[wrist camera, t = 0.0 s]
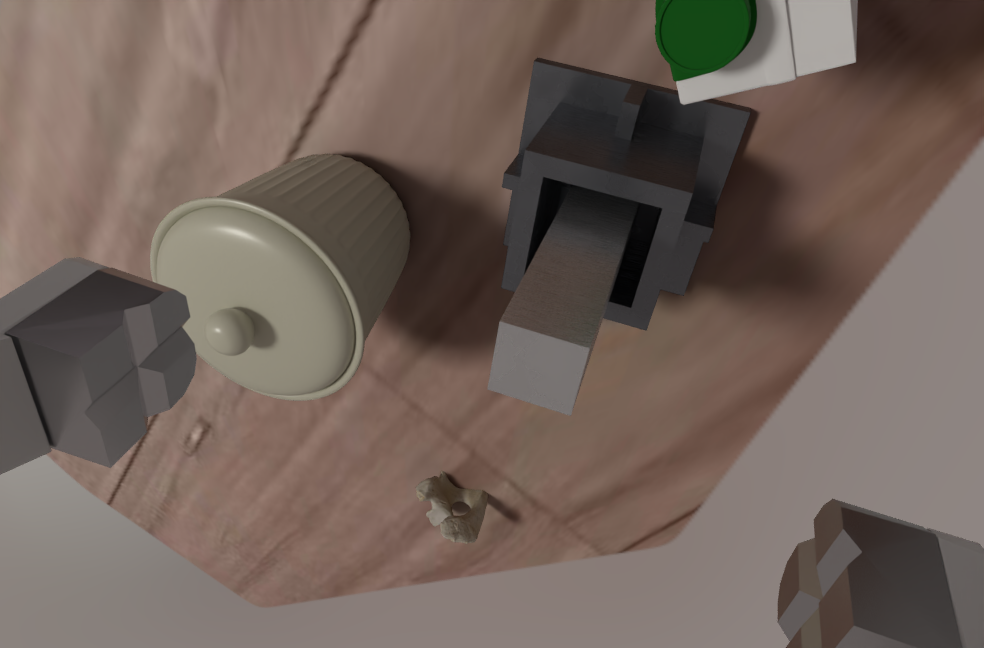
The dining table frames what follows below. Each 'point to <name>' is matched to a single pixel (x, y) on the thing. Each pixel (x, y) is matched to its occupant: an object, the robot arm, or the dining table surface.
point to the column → (562, 301)
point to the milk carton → (751, 42)
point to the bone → (441, 512)
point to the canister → (286, 273)
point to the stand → (621, 174)
